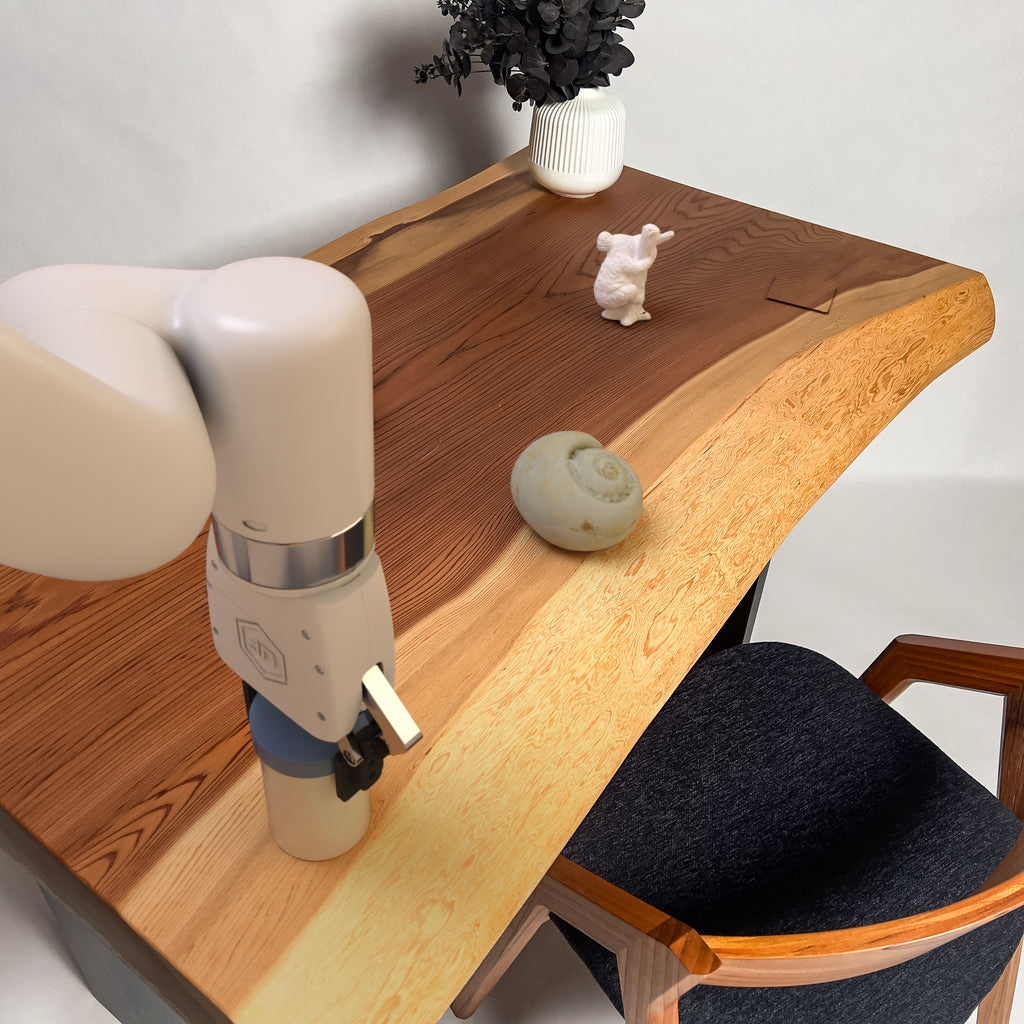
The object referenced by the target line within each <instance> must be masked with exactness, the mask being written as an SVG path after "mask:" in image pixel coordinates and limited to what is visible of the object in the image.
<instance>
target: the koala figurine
mask: <svg viewBox="0 0 1024 1024" xmlns="http://www.w3.org/2000/svg"><path fill="white" fill-rule="evenodd" d="M673 237H675V232H674V231H673V230H668V231H666V232H664V233H661V230H660V228H659V227H658V226H657V225H655V224H654V223H647V224H645V225H643V226H642V229H641V233H638V234H636V235H629V234H624V233H615V234H611V233H610V232H609V231H602V232H600V233H599V235H598V236H597V239H596V248H597V250H598V251H600V252H606V256H605V258H604V259H603V260H604V261H603V262H601V264H600V268H599V270H598V273H597V276H596V279H595V282H594V284H593V295H594V299H595V302H596V303H597V305H598V306H600V307H601V308H602V309H604V310H603V311H602V312H601V316H602V318H604V319H606V320H611V321H612V320H613V321H614V320H615V321H619V322H620V324H621V325H622V326H624V327H628V326H632V324H634V323H636V322H638V321H646V320H651V319H652V318H651V314H650V313H649V312H648V311H646V310H645V309H644V308H643V304H644V301H645V300H646V298H645V294H646V283H647V280H648V279H647V277H648V270H649V269H650V268H651V266H652V265H653V263H654V262H655V260H656V258H657V255H658V249H657V246H658V245H661V244H662V243H665V242H667V241H669V240H670V239H672V238H673ZM645 311H646V313H645V314H642V313H643V312H645Z"/></svg>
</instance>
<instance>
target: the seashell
mask: <svg viewBox="0 0 1024 1024" xmlns="http://www.w3.org/2000/svg"><path fill="white" fill-rule="evenodd" d="M510 490H511V496H512V497H511V498H512V500H513V502H514V505H515V507H516V509H517V510H518V512H519V514H520V515H521V517H522V518H523V519H524V521H525V522H526V523H527V524H528V525H529V527H530V528H531V529H532V530H533V531H534V532H535V533H536V534H537V535H539V536H540V537H541V538H542V539H544V540H546V541H547V542H548V543H550V544H552V545H553V546H557V547H558V548H561V549H565V550H568V551H576V552H593V551H601V550H605V549H607V548H610V547H614V546H615V545H617V544H618V543H620V542H621V541H623V540H624V539H625V538H626V537H628V536H629V535H630V534H631V533H632V531H634V529H635V528H636V526H637V524H638V522H639V520H640V518H641V515H642V511H643V506H644V495H643V494H644V493H643V487H642V483H641V481H640V479H639V476H638V474H637V473H636V470H635V469H634V468H633V467H632V466H631V465H630V464H628V463H627V462H626V461H625V460H624V459H623V458H621V457H620V456H619V455H617V454H616V453H614V452H613V451H610V450H608V449H605V447H604V446H603V445H602V443H601V442H600V441H599V440H597V439H596V438H595V437H593V435H591V434H589V433H587V432H583V431H578V430H562V431H556V432H552V433H549V434H545V435H544V436H541V437H539V438H538V439H536V440H535V441H534V440H533V442H532V443H530V444H529V445H528V446H527V447H526V448H525V449H524V450H523V451H522V452H521V454H519V456H518V458H517V459H516V461H515V463H514V465H513V468H512V471H511V474H510Z"/></svg>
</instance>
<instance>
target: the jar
mask: <svg viewBox="0 0 1024 1024" xmlns="http://www.w3.org/2000/svg"><path fill="white" fill-rule="evenodd" d="M259 763H260V770H261V776H262V782H263V783H262V784H263V789H264V790H263V791H264V796H265V803H266V811H267V817H268V825H269V830H270V833H271V836H272V838H273V840H274V841H275V843H276V844H277V845H278V847H279V848H280V849H281V850H282V851H283V852H285V853H286V854H288V855H290V856H292V857H294V858H296V859H300V860H304V861H310V862H320V861H327V860H331V859H334V858H335V859H336V858H337V857H340V856H342V855H344V854H346V853H348V852H349V851H350V850H351V849H352V848H354V847H355V846H356V845H357V844H358V843H360V841H361V839H362V838H363V837H364V835H365V833H366V832H367V830H368V827H369V825H370V820H371V787H370V788H369V789H368V790H366V791H362V790H360V791H358V792H357V793H356V794H355V795H354V796H353V797H352V798H350V799H349V800H348V801H347V802H343V801H342V800H341V799H339V798H338V797H337V793H336V783H335V773H334V774H331V775H328V776H325V777H320V778H311V779H302V778H294V777H290V776H286V775H283V774H281V773H278V772H276V771H275V770H273V769H271V768H270V767H269V766H267V765H266V764H265V763H264V762H263V761H262V760H261V759H260V758H259Z"/></svg>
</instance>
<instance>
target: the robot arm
mask: <svg viewBox="0 0 1024 1024" xmlns="http://www.w3.org/2000/svg"><path fill="white" fill-rule="evenodd" d="M373 375H374V374H373V330H372V317H371V311H370V309H369V305H368V302H367V300H366V298H365V296H364V294H363V293H362V291H361V289H360V288H359V287H358V286H357V284H356V283H355V282H354V281H353V280H352V279H351V278H350V277H348V276H347V275H346V274H344V273H342V272H340V271H339V270H337V269H336V268H334V267H332V266H330V265H327V264H324V263H322V262H318V261H315V260H312V259H307V258H301V257H294V256H293V257H291V256H259V257H252V258H246V259H241V260H238V261H234V262H231V263H227V264H225V265H222V266H219V267H218V268H215V269H181V268H165V267H163V268H161V267H147V266H144V267H143V266H134V265H133V266H132V265H121V264H120V265H118V264H105V263H103V264H102V263H63V264H54V265H53V264H52V265H45V266H44V265H43V266H40V267H36V268H33V269H30V270H26V271H24V272H20V273H18V274H16V275H14V276H12V277H10V278H9V279H7V280H5V281H4V282H3V283H1V284H0V565H3V566H6V567H8V568H9V567H10V568H13V569H16V570H20V571H22V572H27V573H30V574H34V575H41V576H44V577H47V578H48V577H49V578H53V579H59V580H68V581H79V582H87V583H88V582H111V581H118V580H124V579H129V578H135V577H138V576H141V575H144V574H147V573H149V572H153V571H155V570H156V569H159V568H160V567H162V566H164V565H166V564H168V563H170V562H171V561H173V560H175V559H176V558H177V557H178V556H180V555H181V554H182V553H183V552H185V550H187V549H188V548H189V547H190V546H191V545H192V544H193V542H195V540H196V539H197V538H198V536H199V535H200V534H201V532H202V531H203V529H204V527H205V526H206V523H207V521H208V519H209V518H210V517H211V519H210V520H211V523H210V526H209V531H208V536H207V540H206V541H207V543H206V554H205V555H206V556H205V564H206V565H205V576H206V590H205V596H206V598H207V603H208V610H209V611H208V612H209V619H210V629H211V633H212V639H213V644H214V649H215V651H216V653H217V654H218V656H219V657H220V659H221V660H222V661H223V662H224V663H225V665H226V666H227V667H229V668H230V669H231V670H232V671H233V672H234V673H235V674H237V676H239V677H240V678H241V679H242V680H241V686H242V691H243V698H244V704H245V711H246V716H247V721H248V722H249V712H250V708H251V704H252V702H253V700H254V698H255V696H256V694H257V693H258V692H259V693H260V694H261V695H263V696H264V697H265V698H266V699H267V700H269V701H270V702H271V703H272V704H273V705H275V706H276V707H277V708H278V709H280V710H281V711H282V712H283V713H284V714H286V715H287V716H288V717H289V718H291V719H292V720H293V721H294V722H296V723H297V724H298V725H299V726H301V727H302V728H303V729H305V730H306V731H307V732H309V733H310V734H311V735H313V736H315V737H316V738H319V739H321V740H324V741H327V742H337V744H338V747H339V749H340V751H339V752H337V753H336V755H335V756H334V768H335V783H336V793H337V797H338V798H339V799H341V800H342V801H343V802H347V801H348V800H349V799H350V798H352V797H353V796H354V795H355V794H356V793H357V792H358V791H360V790H362V791H366V790H368V789H369V788H370V789H371V788H372V787H373V786H374V785H375V784H376V783H377V782H378V781H379V779H381V776H382V774H383V769H384V765H385V763H384V762H385V759H386V758H387V757H388V756H391V757H396V756H400V755H405V754H407V753H408V752H409V751H410V750H412V749H413V748H414V747H415V746H416V745H417V744H418V743H419V742H421V741H422V740H423V738H424V735H423V731H422V730H421V729H420V727H419V725H418V724H417V723H416V721H415V720H414V718H413V716H412V715H411V714H410V712H409V711H408V709H407V708H406V706H405V704H404V703H403V702H402V700H401V699H400V697H399V696H398V694H397V692H396V691H395V683H396V666H397V665H396V644H395V632H394V631H395V630H394V623H393V616H392V609H391V602H390V597H389V592H388V586H387V582H386V576H385V573H384V569H383V565H382V562H381V557H379V555H378V553H376V551H375V548H376V492H375V491H376V490H375V486H376V485H375V435H374V434H375V433H374V429H375V428H374V420H373V415H374V388H373V387H374V378H373V377H374V376H373ZM363 712H364V713H365V716H366V718H367V720H368V723H369V725H366V726H364V727H363V728H362V729H361V730H360V731H358V732H357V733H356V734H355V735H354V733H353V731H352V729H353V727H354V725H355V722H356V720H357V717H358V716H360V715H361V714H362V713H363Z"/></svg>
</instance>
